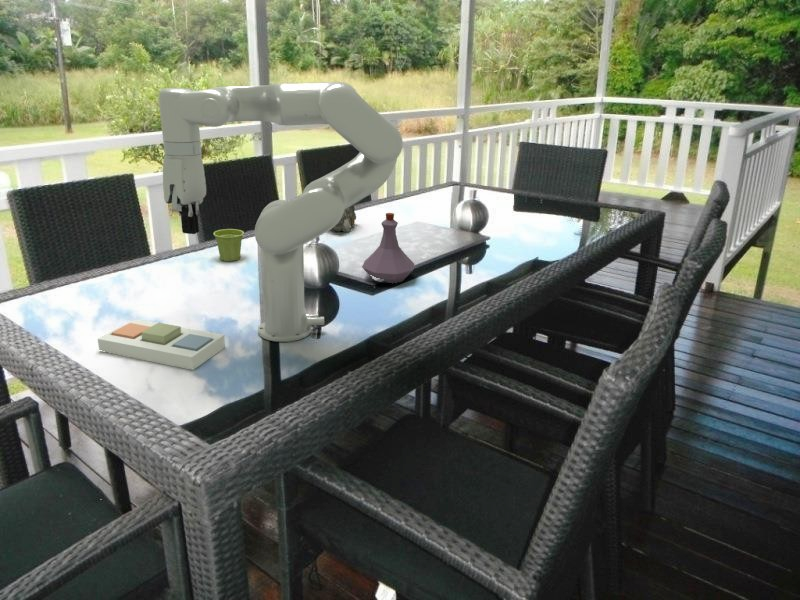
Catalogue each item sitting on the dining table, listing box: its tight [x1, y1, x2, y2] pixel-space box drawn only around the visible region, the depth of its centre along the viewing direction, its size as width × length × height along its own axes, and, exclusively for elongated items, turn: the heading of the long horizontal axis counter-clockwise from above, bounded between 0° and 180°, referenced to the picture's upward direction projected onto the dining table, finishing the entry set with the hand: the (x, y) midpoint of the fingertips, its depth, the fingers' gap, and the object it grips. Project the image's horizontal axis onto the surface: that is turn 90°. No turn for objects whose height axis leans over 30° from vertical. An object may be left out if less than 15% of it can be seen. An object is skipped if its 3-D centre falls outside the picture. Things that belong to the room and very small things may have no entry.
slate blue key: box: [173, 334, 212, 351], centre depth 137 cm, size 6×6×2 cm
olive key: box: [141, 322, 182, 345], centre depth 139 cm, size 6×6×2 cm
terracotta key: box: [112, 322, 150, 339], centre depth 141 cm, size 6×6×2 cm
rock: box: [332, 204, 357, 233], centre depth 239 cm, size 18×14×15 cm
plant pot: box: [213, 228, 245, 262], centre depth 201 cm, size 9×9×9 cm
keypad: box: [97, 318, 226, 371], centre depth 139 cm, size 24×12×3 cm, turn 72°
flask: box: [361, 212, 415, 285], centre depth 186 cm, size 16×16×20 cm
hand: (190, 232), depth 141 cm, fingers closed
